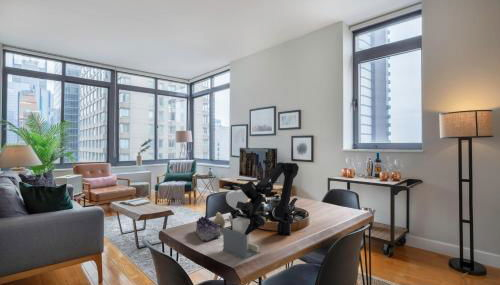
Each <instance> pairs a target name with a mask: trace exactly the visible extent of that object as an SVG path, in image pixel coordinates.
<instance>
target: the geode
mask: <svg viewBox="0 0 500 285" xmlns="http://www.w3.org/2000/svg"><path fill="white" fill-rule="evenodd" d="M195 222H196V227H195V228H196V229H195V233H196V235H197V236H198V237H199V239H200V240H201V241H203V242H204V241H205V242H209V241H212V240H213V239H216V238H220V237H221V226H220V225H219V224H214V222H212V219H210V218H209V216H207V215H205V216H201V217H199V218H198V219H197V221H195Z"/></svg>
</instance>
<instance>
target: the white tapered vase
mask: <svg viewBox="0 0 500 285" xmlns="http://www.w3.org/2000/svg"><path fill="white" fill-rule="evenodd" d="M249 224H250V220H249V219H245V218H242V217H239V218H235V219H232V227H233V231H236V232H239V233H242V234H245V231H246V229H247V227H248V226H249ZM249 237H250V236H249V234H248V235H247V250H249V242H250V240H249Z"/></svg>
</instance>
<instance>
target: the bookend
mask: <svg viewBox="0 0 500 285" xmlns="http://www.w3.org/2000/svg"><path fill="white" fill-rule="evenodd" d="M222 232H223V233H222V234H223V237H222V240H223V242H222V244H223V246H222V248H223V249H222V251H223V252H224V251H225V252H226V253H229V254H230V255H232V256H236V257H238V258H240V259H242V260H246V259H247V258H251V257H253V256H256V255H257V254H260V245H258V244H255V243H254V242H253V243H252V242H250V241H249V250H247V235H245V234H242V233H239V232H236V231H233V230H231V228H227V227H224V228H223V230H222Z"/></svg>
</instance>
